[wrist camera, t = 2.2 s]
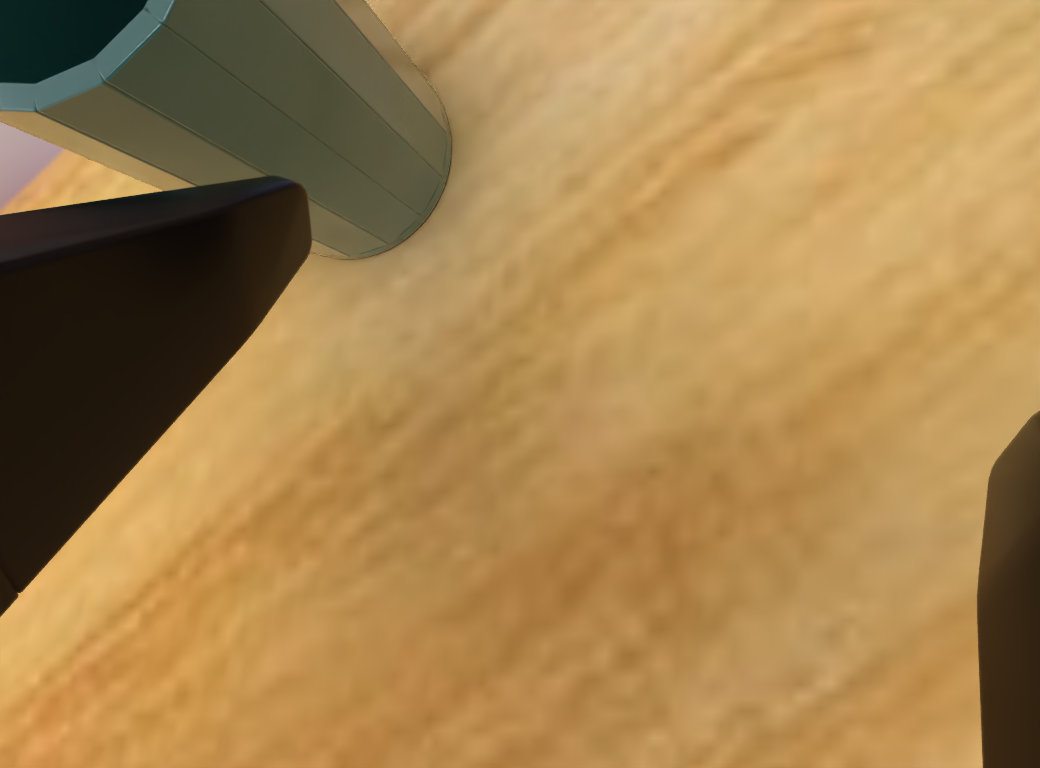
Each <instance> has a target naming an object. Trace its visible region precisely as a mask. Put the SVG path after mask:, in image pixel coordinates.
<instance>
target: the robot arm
mask: <svg viewBox="0 0 1040 768" xmlns="http://www.w3.org/2000/svg"><path fill="white" fill-rule="evenodd" d="M311 247H312V229H311V220H310V210H309V200H308V193H307V191H306V188H305V187H304V186H303V185H302V184H301V183H299V182H297V181H294V180H290V179H287V178H284V177H281V176H276V175H271V176H264V177H257V178H250V179H244V180H237V181H230V182H223V183H216V184H210V185H203V186H196V187H189V188H182V189H175V190H169V191H162V192H155V193H148V194H141V195H135V196H128V197H121V198H114V199H107V200H101V201H94V202H87V203H80V204H73V205H67V206H60V207H53V208H46V209H39V210H32V211H26V212H19V213H12V214H5V215H0V617H1V616H2V615H3V613H4V612H5V611H6V610H7V609H8V608H9V607H10V606H11V604H12V603H13V602H14V601H15V600H16V599H17V598H18V593H21V592H22V591H23V590H24V589H25V588H26V587H27V586H28V585H29V584H30V583H31V581H32V580H33V579H34V578H35V577H36V576H37V575H38V574H39V572H40V571H41V570H42V569H43V568H44V567H45V566H46V565H47V564H48V562H49V561H50V560H51V559H52V558H53V557H54V556H55V555H56V554H57V552H58V551H59V550H60V549H61V548H62V547H63V546H64V545H65V543H66V542H67V541H68V540H69V539H70V538H71V537H72V536H73V535H74V533H75V532H76V531H77V530H78V529H79V528H80V527H81V526H82V524H83V523H84V522H85V521H86V520H87V519H88V518H89V517H90V516H91V514H92V513H93V512H94V511H95V510H96V509H97V508H98V507H99V505H100V504H101V503H102V502H103V501H104V500H105V499H106V498H107V497H108V495H109V494H110V493H111V492H112V491H113V490H114V489H115V488H116V487H117V485H118V484H119V483H120V482H121V481H122V480H123V479H124V478H125V476H126V475H127V474H128V473H129V472H130V471H131V470H132V469H133V468H134V466H135V465H136V464H137V463H138V462H139V461H140V460H141V459H142V457H143V456H144V455H145V454H146V453H147V452H148V451H149V450H150V449H151V447H152V446H153V445H154V444H155V443H156V442H157V441H158V440H159V438H160V437H161V436H162V435H163V434H164V433H165V432H166V431H167V430H168V428H169V427H170V426H171V425H172V424H173V423H174V422H175V421H176V419H177V418H178V417H179V416H180V415H181V414H182V413H183V412H184V411H185V409H186V408H187V407H188V406H189V405H190V404H191V403H192V402H193V401H194V399H195V398H196V397H197V396H198V395H199V394H200V393H201V392H202V390H203V389H204V388H205V387H206V386H207V385H208V384H209V383H210V382H211V380H212V379H213V378H214V377H215V376H216V375H217V374H218V373H219V371H220V370H221V369H222V368H223V367H224V366H225V365H226V364H227V363H228V361H229V360H230V359H231V358H232V357H233V356H234V355H235V354H236V352H237V351H238V350H239V349H240V348H241V347H242V346H243V345H244V343H245V342H246V341H247V340H248V339H249V337H250V336H251V335H252V334H253V332H254V331H255V330H256V328H257V327H258V326H259V324H260V323H261V322H262V320H263V319H264V318H265V316H266V315H267V313H268V312H269V311H270V309H271V308H272V306H273V305H274V304H275V302H276V301H277V299H278V298H279V297H280V295H281V294H282V292H283V291H284V289H285V288H286V287H287V285H288V284H289V282H290V281H291V280H292V278H293V277H294V275H295V274H296V273H297V271H298V270H299V268H300V267H301V266H302V264H303V263H304V261H305V260H306V259H307V257H308V255H309V253H310V250H311ZM977 624H978V651H979V678H980V704H981V731H982V758H983V768H1040V411H1038V412H1037V413H1036V414H1034V415H1033V416H1032V417H1031V418H1030V419H1029V420H1028V421H1027V423H1026V424H1025V425H1024V426H1023V428H1022V429H1021V430H1020V431H1019V433H1018V434H1017V435H1016V436H1015V438H1014V439H1013V440H1012V441H1011V443H1010V444H1009V445H1008V446H1007V448H1006V449H1005V450H1004V451H1003V453H1002V454H1001V455H1000V456H999V458H998V459H997V460H996V462H995V464H994V466H993V468H992V470H991V473H990V477H989V482H988V492H987V501H986V511H985V520H984V530H983V539H982V549H981V558H980V568H979V577H978V591H977Z"/></svg>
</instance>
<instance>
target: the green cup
mask: <svg viewBox="0 0 1040 768" xmlns="http://www.w3.org/2000/svg"><path fill="white" fill-rule="evenodd" d="M0 122H2V123H5V124H7V125H9V126H12V127H14V128H16V129H19V130H21V131H24V132H26V133H29V134H31V135H33V136H35V137H38V138H40V139H43V140H45V141H47V142H50V143H52V144H54V145H57V146H59V147H62V148H64V149H66V150H69V151H71V152H73V153H76V154H78V155H80V156H83V157H85V158H88V159H90V160H92V161H95V162H97V163H99V164H102V165H104V166H107V167H109V168H111V169H114V170H116V171H118V172H121V173H123V174H125V175H128V176H130V177H133V178H135V179H137V180H140V181H142V182H144V183H147V184H149V185H152V186H154V187H156V188H159V189H161V190H163V191H169V190H175V189H182V188H189V187H196V186H203V185H210V184H216V183H223V182H230V181H237V180H244V179H250V178H257V177H264V176H271V175H276V176H281V177H284V178H287V179H290V180H294V181H297V182H299V183H301V184H302V185H303V186H304V187H305V188H306V191H307V193H308V200H309V210H310V220H311V229H312V247H311V250H310V253H313V254H320V255H323V256H326V257H331V258H337V259H357V258H365V257H369V256H372V255H376V254H379V253H381V252H384V251H386V250H389V249H391V248H392V247H394V246H396V245H398V244H399V243H401V242H402V241H404V240H405V239H406V238H408V237H409V236H410V235H412V234H413V233H414V232H415V231H416V230H417V229H418V228H419V227H420V226H421V225H422V224H423V222H424V221H425V220H426V219H427V217H428V216H429V215H430V214H431V212H432V210H433V209H434V207H435V206H436V204H437V202H438V200H439V198H440V196H441V194H442V192H443V189H444V186H445V183H446V180H447V177H448V173H449V167H450V162H451V134H450V129H449V124H448V120H447V117H446V114H445V111H444V108H443V106H442V104H441V102H440V100H439V98H438V96H437V94H436V92H435V91H434V89H433V88H432V87H431V86H430V84H429V83H428V82H427V80H426V79H425V78H424V76H423V75H422V74H421V73H420V71H419V70H418V69H417V67H416V66H415V65H414V63H413V62H412V61H411V60H410V58H409V57H408V56H407V54H406V53H405V52H404V51H403V49H402V48H401V47H400V45H399V44H398V43H397V41H396V40H395V39H394V38H393V36H392V35H391V34H390V32H389V31H388V30H387V29H386V27H385V26H384V25H383V23H382V22H381V21H380V19H379V18H378V17H377V16H376V14H375V13H374V12H373V10H372V9H371V8H370V6H369V5H368V4H367V3H366V1H365V0H0Z"/></svg>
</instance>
